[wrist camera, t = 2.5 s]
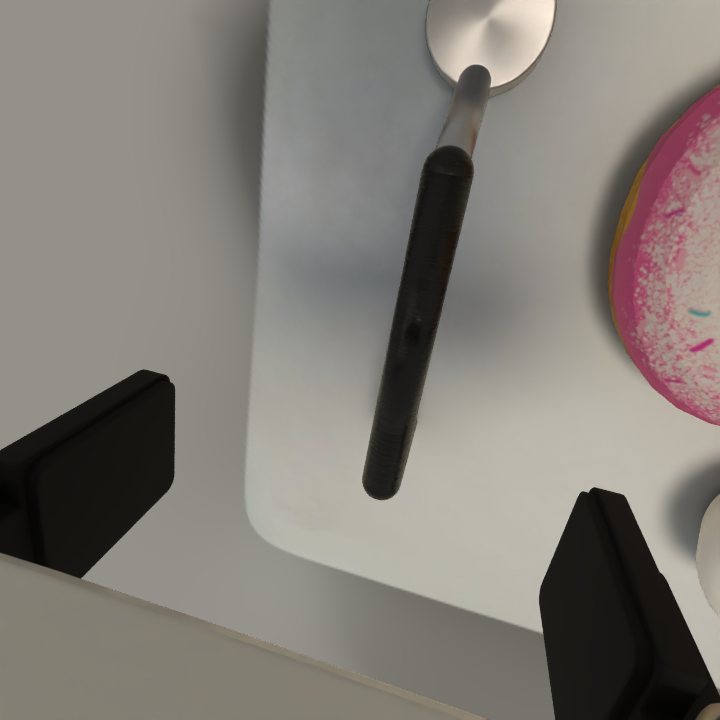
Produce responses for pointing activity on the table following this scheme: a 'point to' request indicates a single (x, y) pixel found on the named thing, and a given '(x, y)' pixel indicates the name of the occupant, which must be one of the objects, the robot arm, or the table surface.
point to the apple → (710, 555)
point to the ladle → (446, 202)
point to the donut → (674, 264)
